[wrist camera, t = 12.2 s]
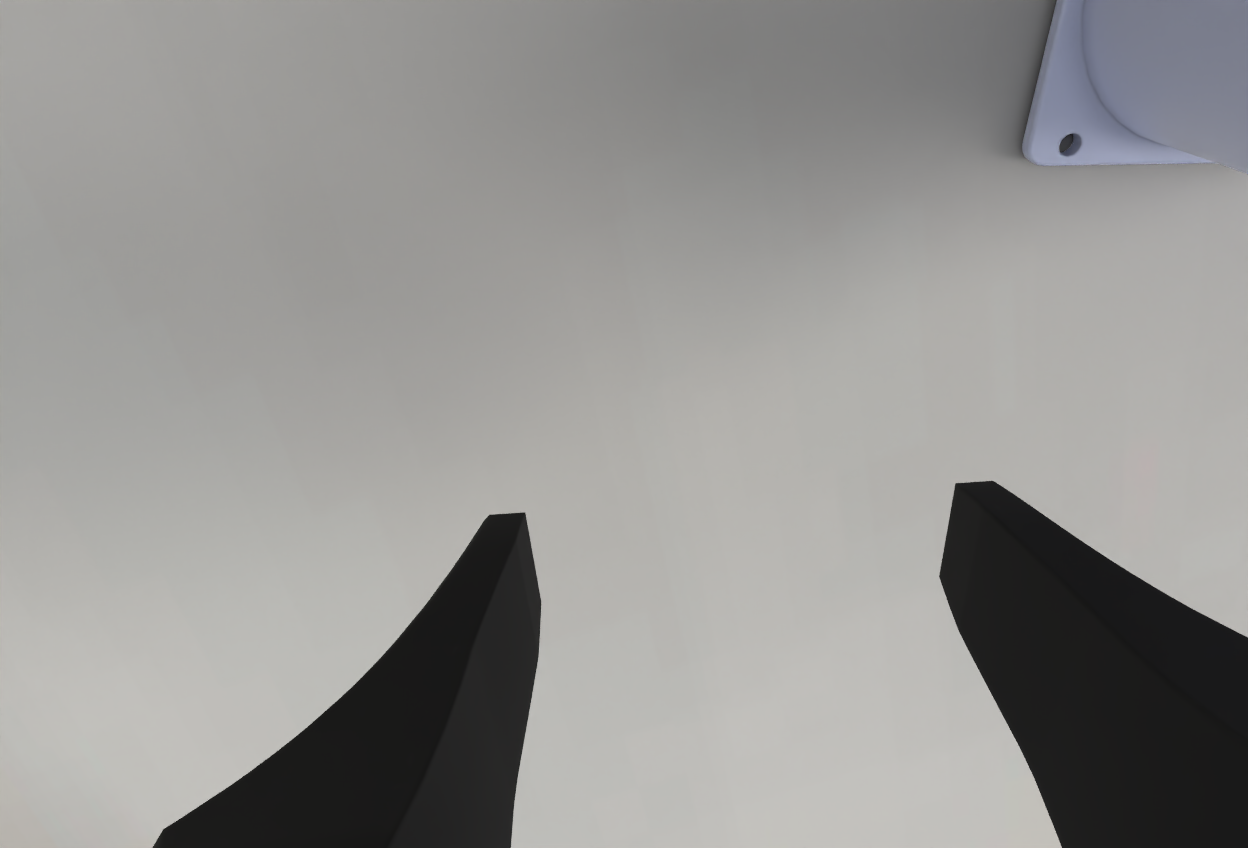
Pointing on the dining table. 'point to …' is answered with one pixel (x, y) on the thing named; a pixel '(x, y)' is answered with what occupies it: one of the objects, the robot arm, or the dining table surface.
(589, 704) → the dining table surface
